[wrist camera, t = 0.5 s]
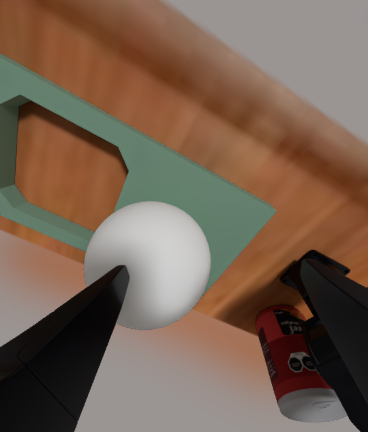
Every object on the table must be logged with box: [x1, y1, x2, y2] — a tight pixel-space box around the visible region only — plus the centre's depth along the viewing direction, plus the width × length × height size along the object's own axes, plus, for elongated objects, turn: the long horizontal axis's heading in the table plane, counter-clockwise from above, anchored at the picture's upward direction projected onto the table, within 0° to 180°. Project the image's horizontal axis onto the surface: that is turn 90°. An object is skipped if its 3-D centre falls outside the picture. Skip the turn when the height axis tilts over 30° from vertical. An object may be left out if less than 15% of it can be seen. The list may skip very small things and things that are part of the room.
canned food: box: [256, 305, 347, 423], centre depth 25 cm, size 8×8×11 cm
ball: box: [84, 201, 211, 330], centre depth 17 cm, size 11×11×11 cm
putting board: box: [0, 54, 277, 297], centre depth 21 cm, size 31×17×2 cm, turn 62°
